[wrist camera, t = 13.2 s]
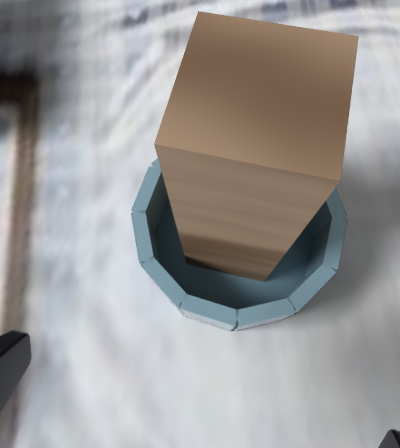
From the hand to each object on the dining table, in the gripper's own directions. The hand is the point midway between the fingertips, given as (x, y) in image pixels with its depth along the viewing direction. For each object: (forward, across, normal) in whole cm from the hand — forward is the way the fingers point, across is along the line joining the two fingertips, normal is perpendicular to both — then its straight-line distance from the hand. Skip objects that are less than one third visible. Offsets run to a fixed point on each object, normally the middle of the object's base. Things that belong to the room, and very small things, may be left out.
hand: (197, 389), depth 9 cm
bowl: (+15, 0, +4) cm, 16 cm away
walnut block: (+15, 0, +3) cm, 15 cm away
